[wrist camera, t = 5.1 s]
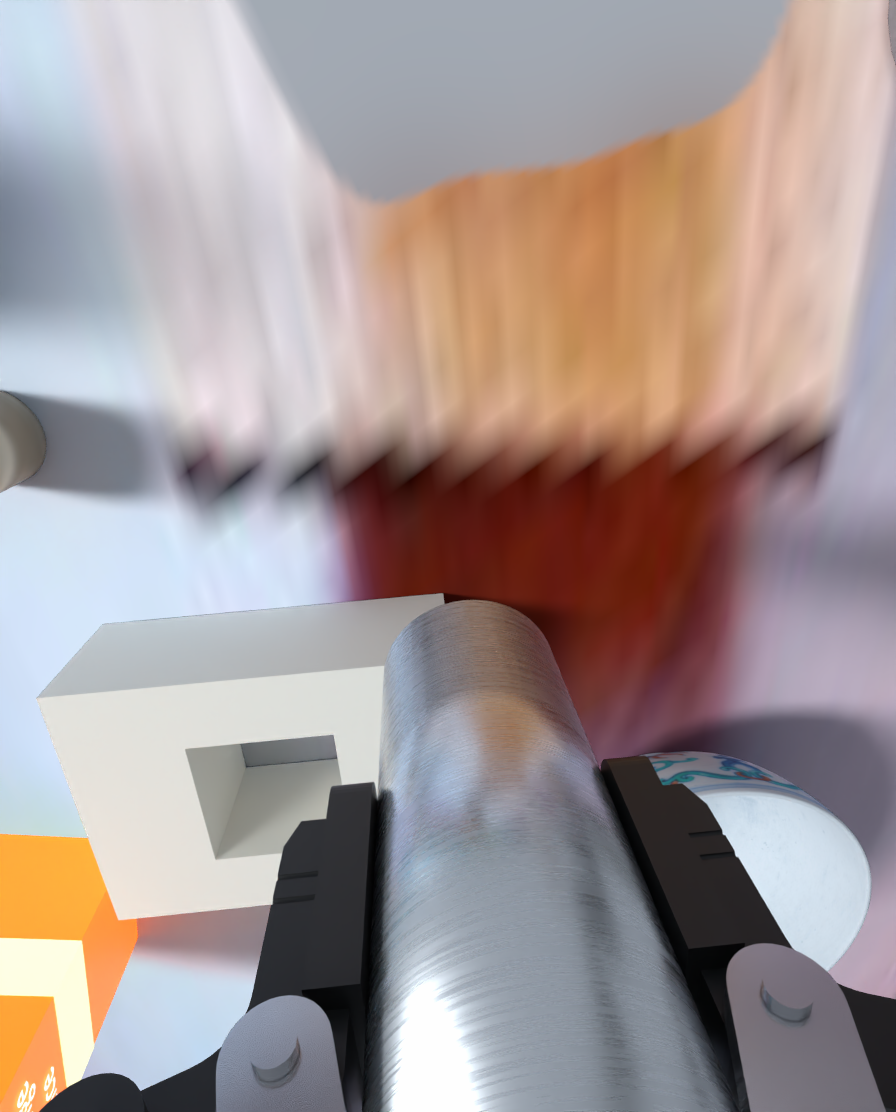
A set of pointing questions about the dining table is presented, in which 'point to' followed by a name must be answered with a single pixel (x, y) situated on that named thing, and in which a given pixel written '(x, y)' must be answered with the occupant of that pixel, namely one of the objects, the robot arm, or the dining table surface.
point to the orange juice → (53, 964)
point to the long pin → (512, 898)
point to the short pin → (19, 442)
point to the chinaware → (783, 848)
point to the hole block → (216, 742)
